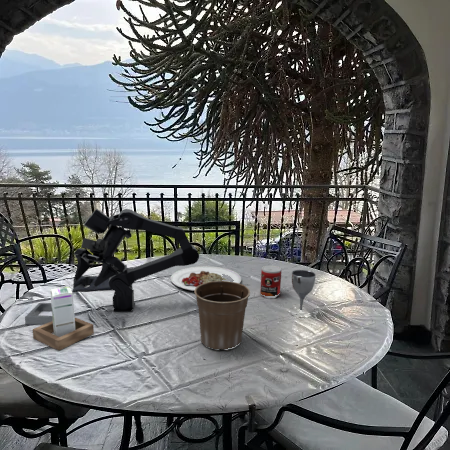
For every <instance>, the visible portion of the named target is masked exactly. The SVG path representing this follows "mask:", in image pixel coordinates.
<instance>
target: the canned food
mask: <svg viewBox="0 0 450 450" xmlns="http://www.w3.org/2000/svg"><path fill="white" fill-rule="evenodd" d="M281 280H282V268H281V267H279V266H278V265H264V266H262V267H261V272H260V289H259V290H260V295H261V294H262V295H265V296H275V295H278V294H279V293H280V294H281V284H282V281H281Z"/></svg>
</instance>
